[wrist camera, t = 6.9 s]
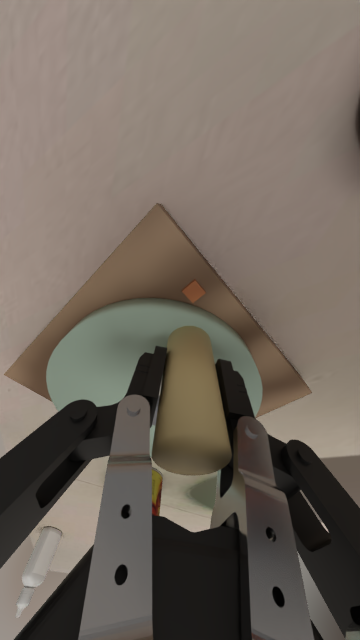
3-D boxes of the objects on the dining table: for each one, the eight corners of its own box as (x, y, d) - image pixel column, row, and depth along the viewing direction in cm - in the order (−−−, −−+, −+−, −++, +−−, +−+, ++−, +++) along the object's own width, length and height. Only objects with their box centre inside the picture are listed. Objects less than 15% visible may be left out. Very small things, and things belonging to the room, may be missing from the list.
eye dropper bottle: (61, 527, 47) (26, 616, 37) (62, 534, 50) (30, 619, 40) (43, 525, 47) (2, 615, 37) (45, 532, 50) (8, 617, 39)
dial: (200, 452, 24) (207, 568, 16) (51, 412, 21) (-29, 533, 13) (298, 348, 16) (411, 485, 8) (76, 256, 13) (-106, 333, 5)
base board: (301, 377, 20) (313, 395, 18) (160, 445, 28) (158, 463, 26) (160, 204, 13) (156, 202, 11) (19, 360, 20) (1, 377, 18)
